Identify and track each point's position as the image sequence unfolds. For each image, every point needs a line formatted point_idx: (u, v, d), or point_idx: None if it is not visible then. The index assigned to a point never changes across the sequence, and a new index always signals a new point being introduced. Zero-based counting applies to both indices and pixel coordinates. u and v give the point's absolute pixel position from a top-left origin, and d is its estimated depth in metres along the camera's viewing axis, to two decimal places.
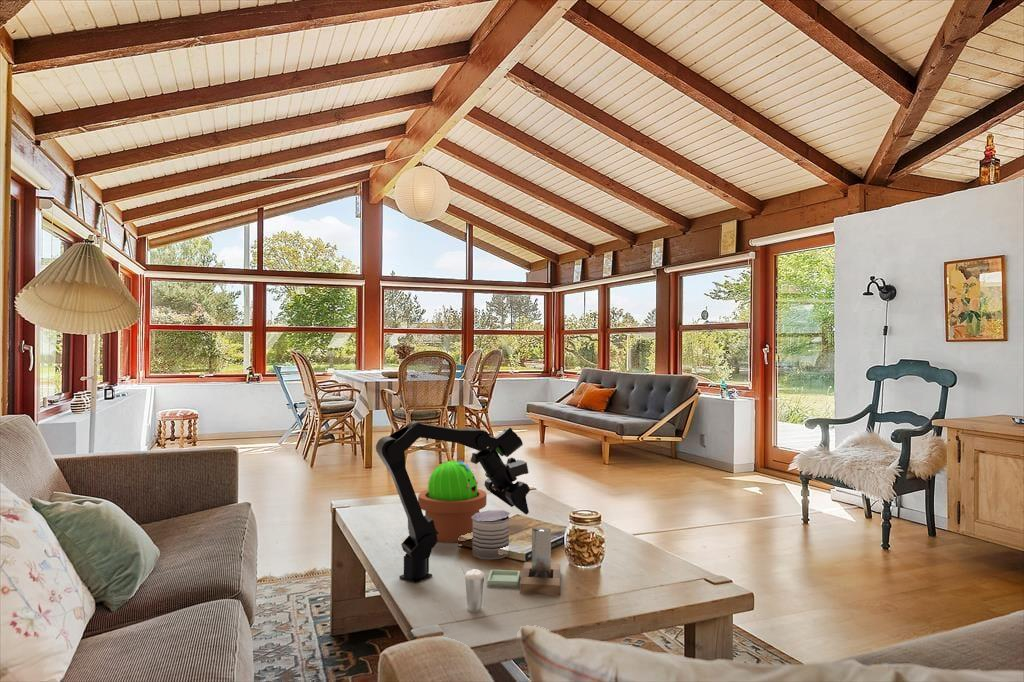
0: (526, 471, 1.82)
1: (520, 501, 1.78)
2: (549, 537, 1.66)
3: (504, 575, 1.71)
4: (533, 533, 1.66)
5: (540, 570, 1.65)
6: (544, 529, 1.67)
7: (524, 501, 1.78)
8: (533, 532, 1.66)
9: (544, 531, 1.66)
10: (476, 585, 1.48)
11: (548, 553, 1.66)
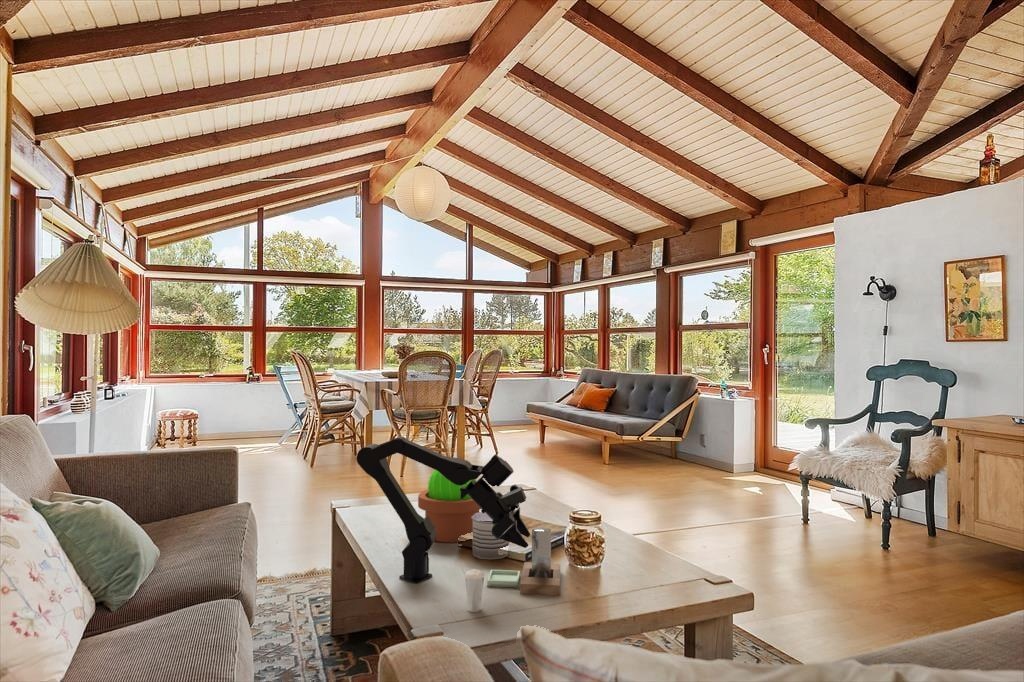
0: (521, 500, 1.66)
1: (512, 534, 1.62)
2: (549, 537, 1.66)
3: (504, 575, 1.71)
4: (533, 533, 1.66)
5: (540, 570, 1.65)
6: (544, 529, 1.67)
7: (517, 534, 1.62)
8: (533, 532, 1.66)
9: (544, 531, 1.66)
10: (476, 585, 1.48)
11: (548, 553, 1.66)
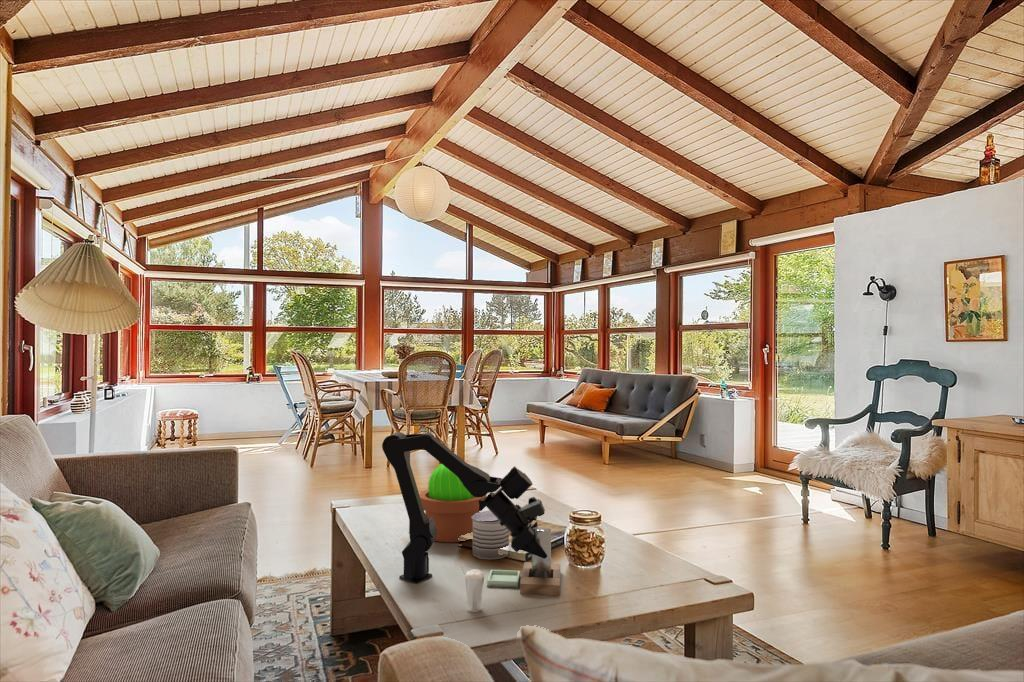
0: (540, 513, 1.65)
1: (532, 545, 1.64)
2: (549, 537, 1.66)
3: (504, 575, 1.71)
4: None
5: (540, 570, 1.65)
6: (544, 529, 1.67)
7: (536, 545, 1.64)
8: None
9: (544, 531, 1.66)
10: (476, 585, 1.48)
11: (548, 553, 1.66)
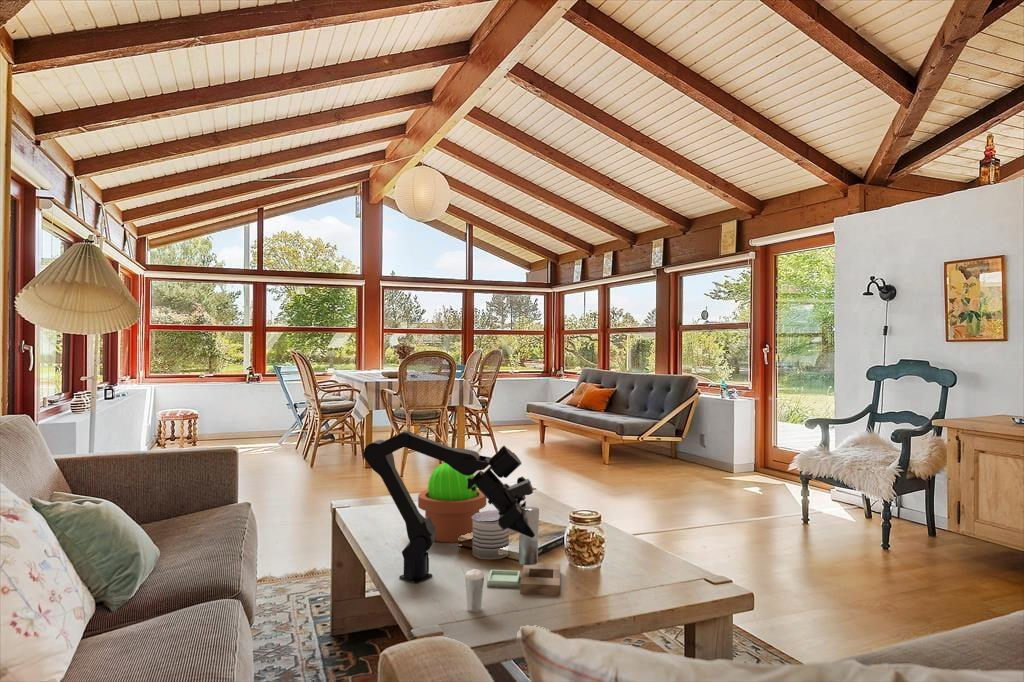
0: (528, 492, 1.65)
1: (519, 524, 1.64)
2: (537, 516, 1.66)
3: (504, 575, 1.71)
4: None
5: (527, 549, 1.65)
6: (532, 509, 1.68)
7: (524, 524, 1.64)
8: None
9: (532, 510, 1.66)
10: (476, 585, 1.48)
11: (535, 532, 1.66)
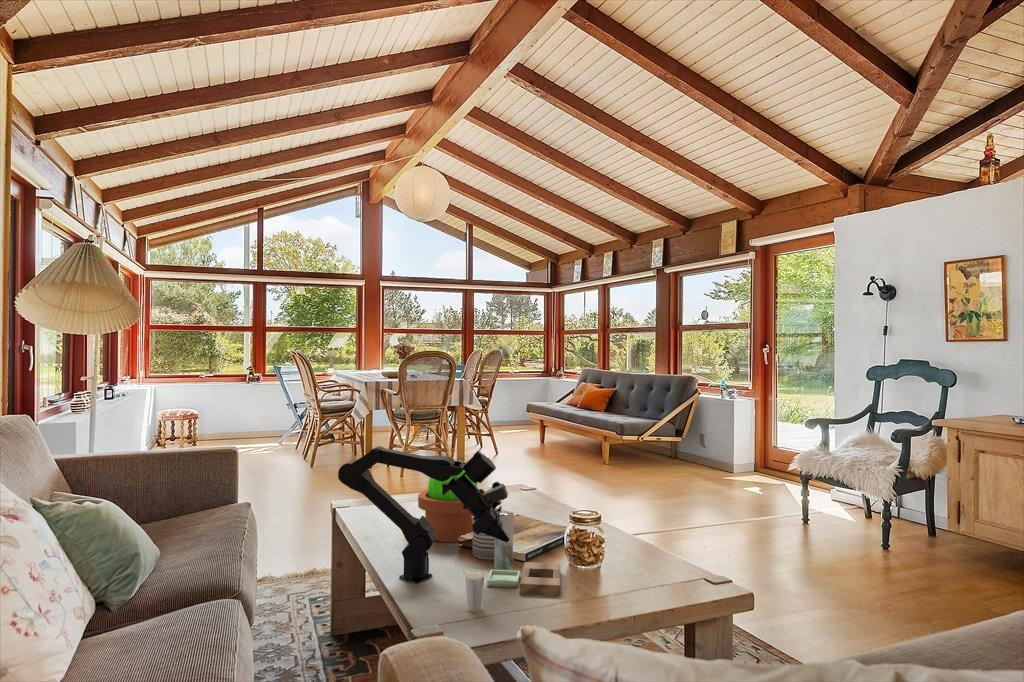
0: (502, 497, 1.66)
1: (494, 529, 1.65)
2: (512, 521, 1.67)
3: (504, 575, 1.71)
4: None
5: (502, 554, 1.66)
6: (507, 513, 1.68)
7: (498, 529, 1.64)
8: None
9: (506, 515, 1.67)
10: (476, 585, 1.48)
11: (510, 537, 1.66)
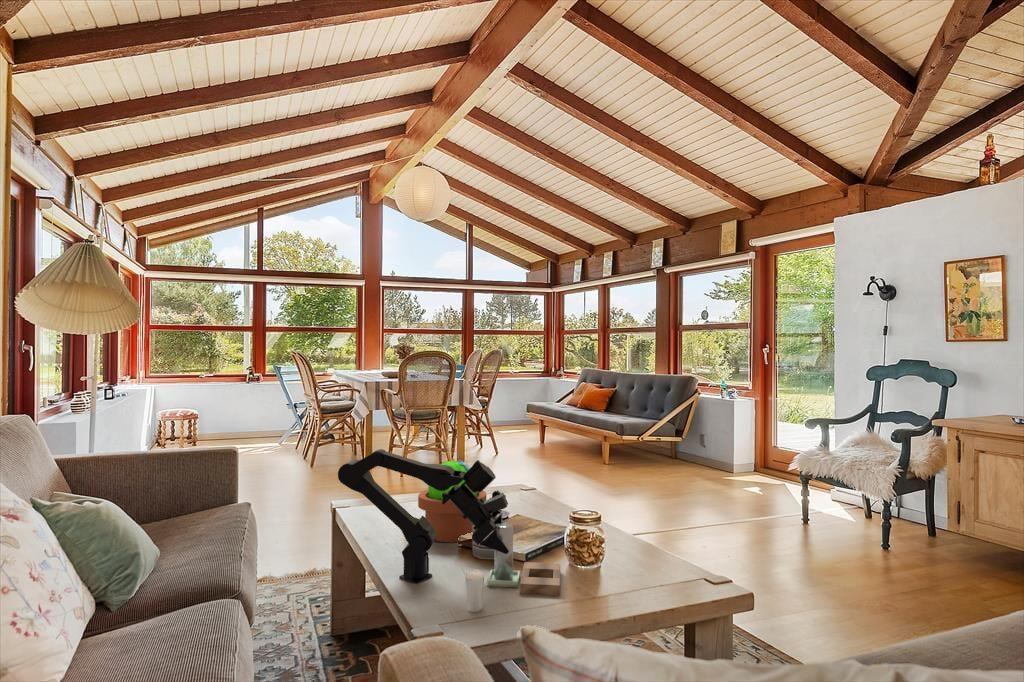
0: (502, 506, 1.66)
1: (493, 541, 1.63)
2: (511, 534, 1.67)
3: None
4: None
5: (501, 567, 1.66)
6: (507, 526, 1.68)
7: (498, 540, 1.62)
8: None
9: (506, 528, 1.66)
10: (476, 585, 1.48)
11: (510, 549, 1.66)
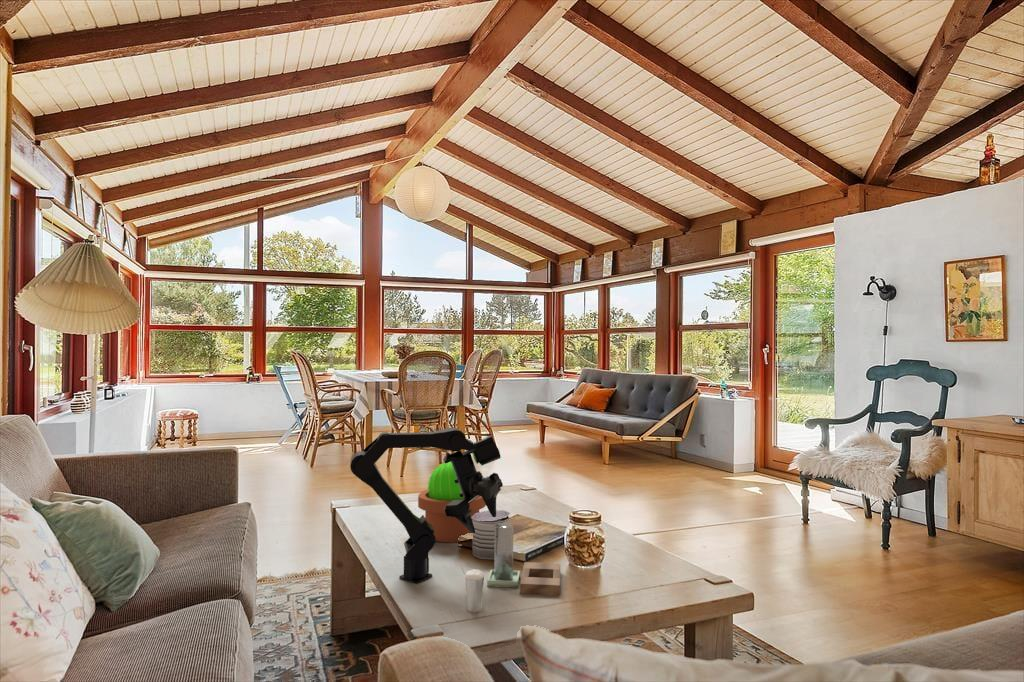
0: (485, 496, 1.68)
1: (464, 518, 1.70)
2: (511, 534, 1.67)
3: None
4: (495, 529, 1.67)
5: (502, 567, 1.66)
6: (507, 526, 1.68)
7: (467, 520, 1.69)
8: (495, 528, 1.67)
9: (506, 527, 1.66)
10: (476, 585, 1.48)
11: (510, 549, 1.66)
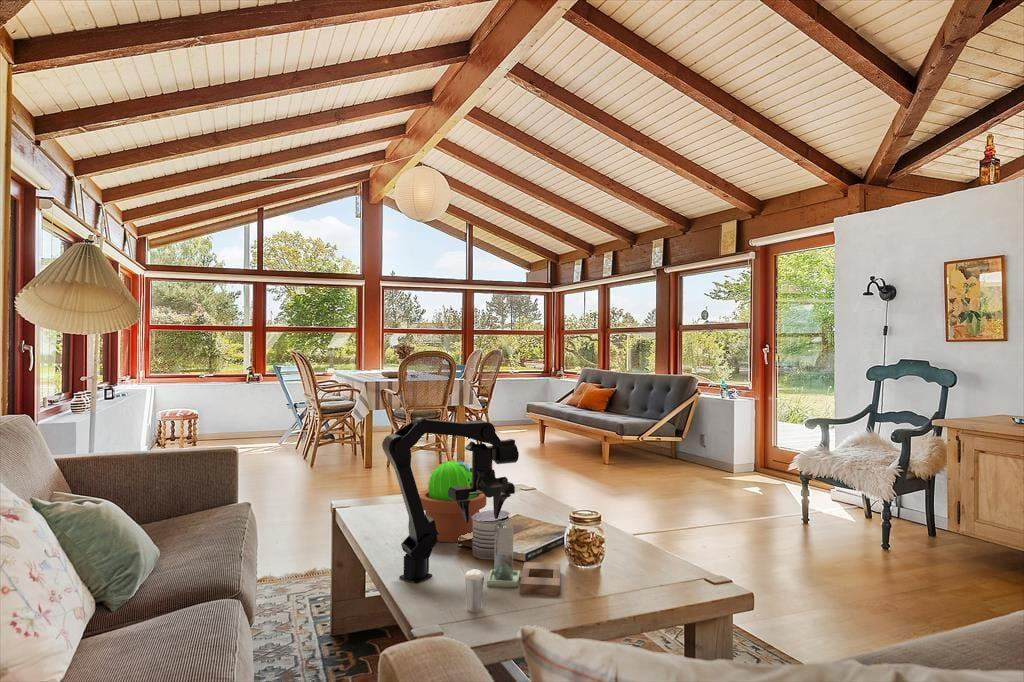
0: (485, 493, 1.72)
1: (463, 505, 1.76)
2: (512, 534, 1.67)
3: None
4: (495, 529, 1.67)
5: (502, 567, 1.66)
6: (507, 526, 1.68)
7: (464, 509, 1.75)
8: (495, 528, 1.67)
9: (506, 528, 1.66)
10: (476, 585, 1.48)
11: (510, 549, 1.66)
